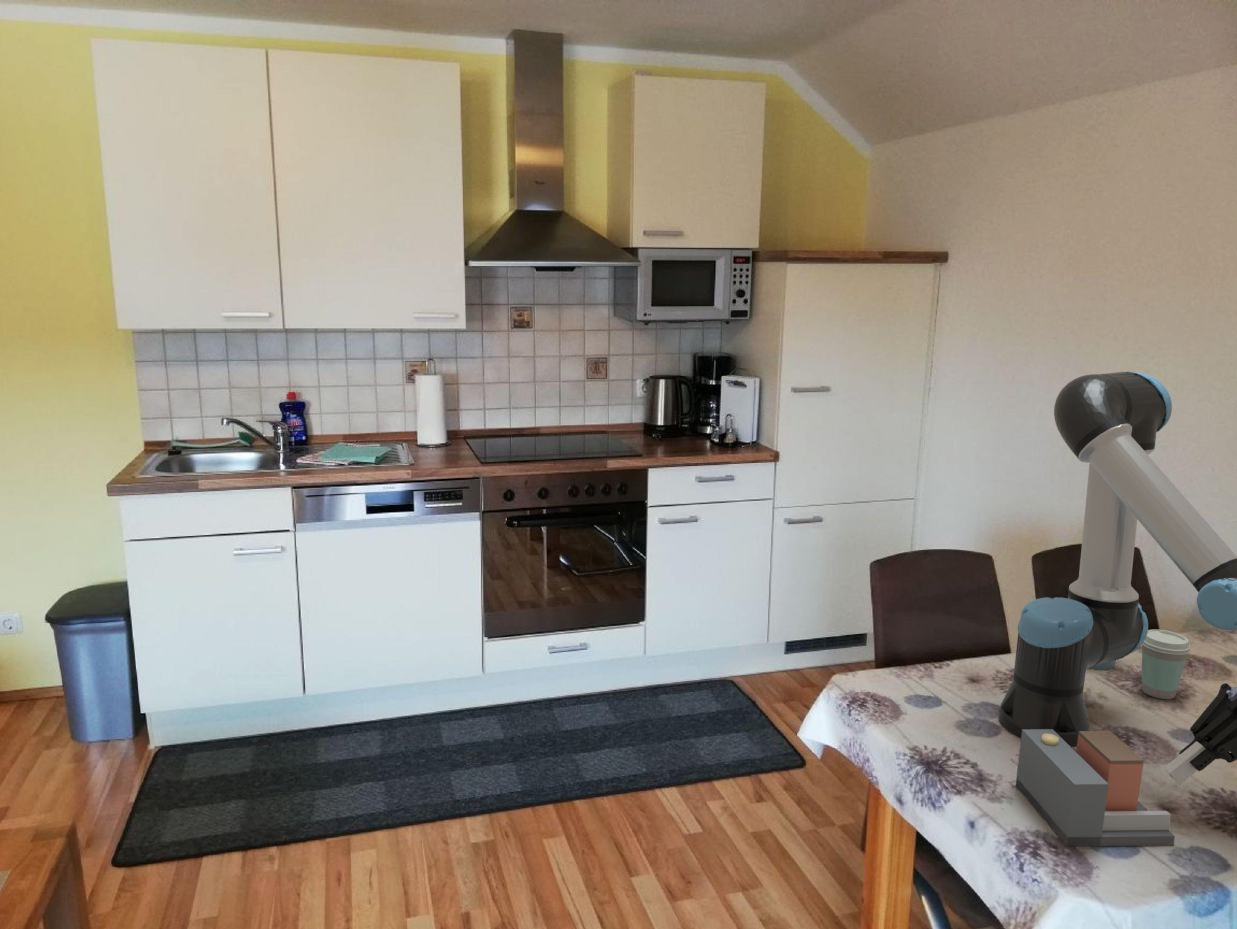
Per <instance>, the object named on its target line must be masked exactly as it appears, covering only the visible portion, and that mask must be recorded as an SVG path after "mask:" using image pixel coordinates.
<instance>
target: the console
mask: <svg viewBox="0 0 1237 929" xmlns="http://www.w3.org/2000/svg"><path fill="white" fill-rule="evenodd" d="M1019 746H1020V747H1019V753H1018V762H1017V770H1016V771H1017V772H1016V779H1015V787H1016V788H1017V789H1018V790H1019V791H1020V793H1021V794H1022V795H1023V797H1025V799H1026V800H1027V801H1028V802H1029V803H1030V805H1031V806H1032V807H1033V808H1034V809H1035V811H1036V813H1037V814H1039V815H1040V817H1041V818H1042V819H1043V820H1044V821H1045V822H1046V824H1047V825H1048V826H1049V827H1050V829H1051V830H1052V831H1053V832H1054V833H1055V835H1057V837H1058V838H1059V840H1061V842H1062V843H1063V845H1065V846H1066V847H1119V846H1120V847H1123V846H1124V847H1125V846H1126V847H1129V846H1130V847H1133V846H1138V847H1140V846H1174V845H1175V838H1176V836H1175V835H1174V833H1173V832H1172V831H1170V830H1169V829H1170V825H1171V824H1170V823H1171V816H1172V815H1171V813H1170V812H1169V811H1167V810H1149V809H1147V808H1146V807H1145V806H1144V804H1142V803H1141V802H1140V801H1139V800H1138V804H1137V811H1105V807H1106V800H1107V793H1108V786H1109V784H1108V783H1107V782H1106V781H1105V780H1104V779H1103V778H1102V777H1101V776H1100V775H1099V774H1098V773H1097V772H1096V771H1095V770H1094V769H1093V768H1092V767H1091V766H1090V765H1089V764H1088V763H1087V762H1086V761H1085V760H1084V759H1082V758H1081V757H1080V756H1079V755H1078V754H1077V753H1076V750H1075V749H1073V747H1072V746H1069V745H1068V744H1067V743H1066V742H1065V741H1064V740H1063V739H1062V738H1061V737H1060V736H1059V735H1058V734H1057V733H1056V732H1055V731H1054V730H1053V729H1022V735H1021V737H1020V745H1019Z"/></svg>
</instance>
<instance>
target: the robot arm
mask: <svg viewBox="0 0 1237 929" xmlns="http://www.w3.org/2000/svg"><path fill="white" fill-rule="evenodd" d="M1171 398H1172V397H1171V395H1170V393H1169V391H1168V389H1167V388H1166V386H1165V385H1164V384H1163V383H1162V382H1161V381H1160V380H1159V379H1158V378H1156V377H1154V376H1153V375H1150V374H1147V373H1144V372H1134V371H1119V372H1111V373H1110V372H1109V373H1100V374H1099V373H1098V374H1097V373H1095V374H1093V373H1092V374H1085V375H1082V376H1078V377H1076V378H1074V379H1072V380H1071V381H1069V382H1068V383H1066V385H1064V387H1062V389H1061V390H1060V391H1059V394H1058V395H1057V397H1056V399H1055V402H1054V407H1053V408H1054V409H1053V417H1054V422H1055V425H1056V429H1057V430H1058V433H1059V434H1060V436H1061V438H1062V440H1063V441H1064V443H1065V444H1066V445H1067V447H1068V449H1069V450H1070V451H1071V452H1072V453H1073V454H1074V455H1075V457H1076V458H1077V459H1078V461H1080V462H1081V463H1086V464H1087V463H1088V464H1089V466H1088V476H1087V488H1086V497H1085V507H1084V508H1085V509H1084V510H1085V511H1084V518H1083V519H1084V521H1083V530H1082V540H1081V552H1080V560H1079V561H1080V562H1079V573H1078V578H1077V579H1076V580H1075V581H1073V582H1072V583H1070V584H1069V587H1068V594H1067V598H1066V597H1054V598H1051V597H1048V596H1047V597H1040V598H1036V599H1034V600H1031V601H1029V602H1028V603H1026V604H1025V605H1024V606H1023V608H1022V610H1021V613H1020V617H1019V618H1020V619H1019V621H1018V624H1017V642H1016V649H1015V650H1016V651H1015V658H1014V670H1013V678H1012V682H1011V683H1010V686H1009V687H1008V690H1007V691H1006V694H1005V695H1004V697H1003V699H1002V701H1001V703H1000V705H999V709H998V710H999V711H998V712H999V713H998V721H999V722H1000V724H1001V726H1002V727H1003V728H1004V729H1005V730H1007V731H1008V732H1010V733H1011V734H1013V735H1014V736H1017V737H1019V738H1021V735H1022V729H1053V730H1054V731H1055V732H1056V733H1057V734H1058V735H1059V736H1060V737H1061V738H1062V739H1063V740H1064V741H1065V742H1066V743H1067V744H1068V745H1069V746H1070V747H1072V746H1073V747H1074V746H1077V742H1078V734H1079V731H1090V724H1091V723H1090V719H1089V714H1088V710H1087V707H1086V703H1085V702H1086V701H1085V697H1084V689H1085V688H1084V687H1085V682H1086V681H1085V680H1086V671H1087V669H1088V668H1089V667H1092V666H1095V665H1098V664H1101V663H1104V662H1107V661H1110V660H1116V661H1118V660H1121V659H1123V658H1125V657H1127V656H1129V655H1130V654H1132V653H1134V652H1136V651H1137V650H1139V648H1140V647H1142V644H1143V642H1144V641H1145V639H1146V636H1147V633H1148V630H1149V621H1148V617H1147V614H1146V612H1144V611H1143V607H1142V605H1141V604H1140V602H1139V601H1140V599H1139V597H1140V595H1139V593H1138V592H1137V590H1135V589H1134V588H1133V587H1132V584H1131V582H1132V574H1133V567H1134V566H1133V563H1134V555H1135V545H1136V535H1137V526H1138V522H1139V523H1140V524H1141V526H1142V527H1143V528H1144V529H1145V531H1147V533H1149V535H1150V536H1151V537H1152V538H1153V539H1154V541H1155V542H1156V544H1158V545H1159V547H1160V548H1161V550H1163V552H1165V554H1166V555H1167V556H1168V557H1169V559H1170V560H1171V561H1172V562H1173V563H1174V565H1175V566H1176V567H1177V568H1178V569H1179V571H1181V573H1182V574H1183V575H1184V576H1185V577H1186V579H1187V580H1188V581H1189V583H1191V585H1192V586H1193V588H1194V589H1195V590H1196V592H1197V597H1196V605H1197V608H1198V612H1199V615H1200V616H1201V618H1202V619H1203V620H1204V621H1205V622H1206V623H1207V624H1209V625H1210V626H1212V627H1214V628H1215V629H1219V630H1221V631H1237V555H1236V553H1234V551H1233V550H1232V549H1231V548H1230V546H1228V545H1227V544H1226V542H1225V541H1224V540H1223V539H1222V538H1221V537H1220V536H1219V534H1218V533H1217V532H1216V531H1215V530H1214V528H1213V527H1212V526H1211V525H1210V524H1209V523H1208V522H1207V521H1206V519H1205V518H1204V517H1203V516H1202V515H1201V514H1200V513H1199V512H1198V510H1197V508H1195V507H1194V506H1193V505H1192V503H1191V502H1190V501H1189V500H1188V499H1187V497H1185V495H1183V493H1182V492H1181V491H1180V490H1179V489H1178V488H1177V487H1176V485H1175V484H1174V483H1173V482H1172V481H1171V480H1170V478H1168V476H1167V475H1166V474H1165V473H1164V471H1163V470H1162V469H1161V468H1160V467H1159V466H1158V465H1157V464H1156V462H1155V461H1154V460H1153V459H1152V458H1151V457H1150V456H1149V455H1150V454H1152V453H1153V452H1154V451H1155V449H1156V441H1157V440H1156V439H1157V433H1158V432H1160V431H1161V430H1162V429H1163V428H1164V427H1165V426H1166V425H1167V424H1168V422H1169V420H1170V418H1171V416H1172V411H1173V404H1172V399H1171ZM1089 669H1090V668H1089ZM1189 729H1190V732H1191V733H1192V735H1193V736H1194V737H1193V740H1192V741H1191V742H1190V743H1188V744H1187V745H1186V746H1185V747H1184V748H1182V749H1181V750H1180V751H1179V752H1178V754H1179V755H1178V756H1176V757H1175V758H1174V759H1173V760H1172V761H1171V762H1169V763H1168V764H1166V766H1164V767H1163V771H1165V772H1166V773H1167V774H1168V776H1170V777H1171V779H1172V780H1174V781H1175V782H1176V783H1177V784H1178V785H1181V784H1182V783H1184V782H1185V781H1186V780H1188V779H1189V778H1190V777H1191V776H1193V775H1194V774H1195V773H1196V772H1197V771H1198V772H1201V771H1203V770H1204V769H1205V768H1207V767H1208V766H1209V765H1211V764H1212V763H1213V762H1214V761H1215V760H1224V761H1226V762H1227V763H1229V764H1230V763H1233V762H1235V761H1237V686H1235V687H1234V686H1231V685H1230V684H1228V683H1222V684H1221V685H1220V687H1219V690H1218V693H1217V695H1216V696H1215V697H1214V698H1213V700H1212V701H1211V702H1210V704H1209V705H1208V706H1207V707H1206V708H1205V709H1204V710H1203V712H1202V713H1201V715H1199V717H1198V718H1197V719H1196V720H1195V722H1194V723H1193V724H1192V725H1191V726H1190V728H1189Z"/></svg>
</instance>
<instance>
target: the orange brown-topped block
mask: <svg viewBox="0 0 1237 929" xmlns="http://www.w3.org/2000/svg"><path fill="white" fill-rule="evenodd" d="M1075 752H1076V753H1077V754H1078V755H1079V756H1080V757H1081V758H1082V759H1084V760H1085V761H1086V762H1087V763H1088V764H1089V765H1090V766H1091V767H1092V768H1093V769H1094V770H1095V771H1096V772H1097V773H1098V774H1099V775H1100V776H1101V777H1102V778H1103V779H1104V780H1105V781H1106V782H1107V783H1108V784H1109V786H1108V793H1107V800H1106V807H1105V811H1137V804H1138V801H1139V796H1140V789H1141V783H1142V782H1141V781H1142V775H1143V768H1144V762H1145V760H1144V759H1143V758H1141V756H1139V755H1138V754H1137V753H1136V752H1135V751H1134V750H1133V749H1132V748H1130V747H1129V746H1128V745H1127V744H1126V743H1125V742H1124V741H1122V740H1121V739H1120V738H1119V737H1118V736H1117V735H1116V734H1114V733H1113V732H1112V731H1110V730H1089V731H1079V734H1078V742H1077V745H1076V750H1075Z"/></svg>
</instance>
